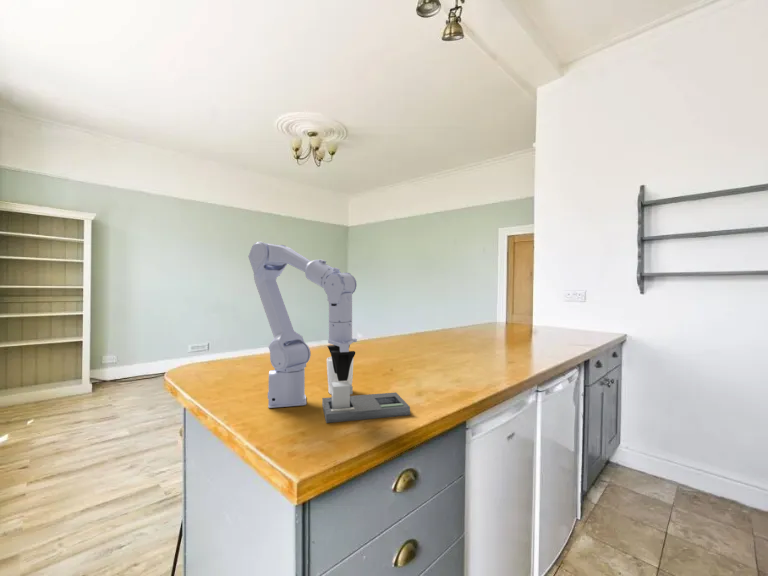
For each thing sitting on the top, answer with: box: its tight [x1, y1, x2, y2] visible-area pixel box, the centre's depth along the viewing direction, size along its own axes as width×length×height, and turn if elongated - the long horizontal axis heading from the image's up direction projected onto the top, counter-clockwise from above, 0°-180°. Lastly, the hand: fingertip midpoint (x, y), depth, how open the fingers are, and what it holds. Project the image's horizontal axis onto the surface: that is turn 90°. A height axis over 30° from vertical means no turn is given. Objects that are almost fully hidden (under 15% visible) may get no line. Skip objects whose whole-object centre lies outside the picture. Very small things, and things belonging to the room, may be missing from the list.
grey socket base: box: [321, 392, 411, 424], centre depth 87 cm, size 20×12×2 cm, turn 104°
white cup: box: [326, 356, 354, 395], centre depth 103 cm, size 8×8×10 cm
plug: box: [331, 382, 354, 409], centre depth 86 cm, size 5×4×7 cm
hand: (340, 376), depth 86 cm, fingers open, 7 cm apart
